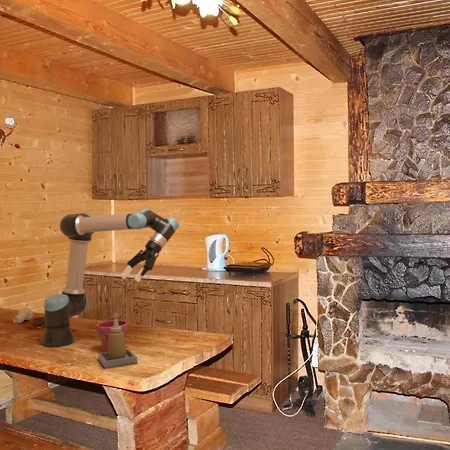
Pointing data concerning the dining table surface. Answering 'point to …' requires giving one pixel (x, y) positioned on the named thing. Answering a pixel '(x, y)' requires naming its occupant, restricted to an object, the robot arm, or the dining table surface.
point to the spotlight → (23, 315)
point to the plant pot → (105, 329)
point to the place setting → (38, 322)
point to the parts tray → (117, 360)
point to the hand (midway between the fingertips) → (129, 279)
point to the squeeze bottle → (116, 342)
